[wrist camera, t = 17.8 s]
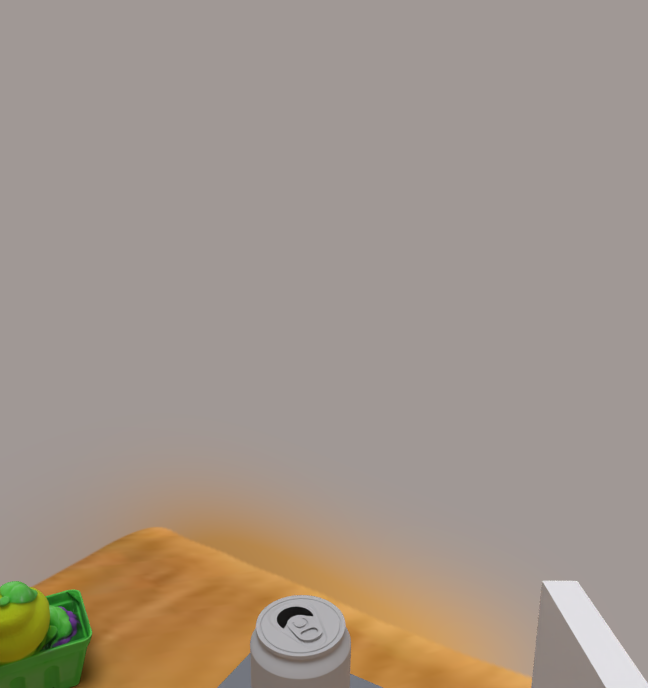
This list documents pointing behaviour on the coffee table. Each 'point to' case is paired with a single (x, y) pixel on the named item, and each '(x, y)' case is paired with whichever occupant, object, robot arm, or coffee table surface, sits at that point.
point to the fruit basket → (41, 637)
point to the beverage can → (300, 645)
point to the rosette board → (240, 678)
